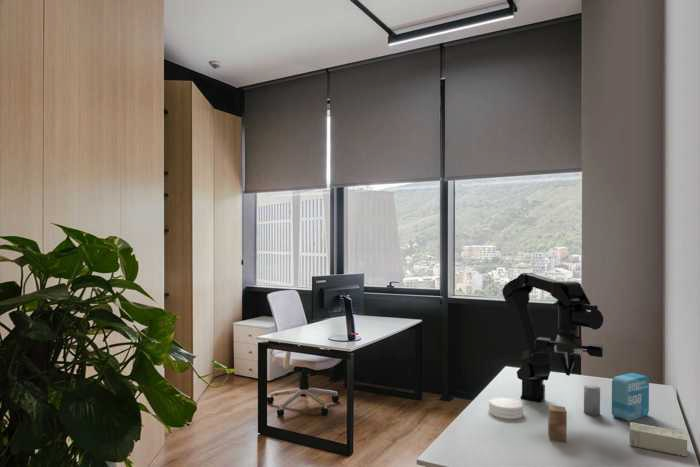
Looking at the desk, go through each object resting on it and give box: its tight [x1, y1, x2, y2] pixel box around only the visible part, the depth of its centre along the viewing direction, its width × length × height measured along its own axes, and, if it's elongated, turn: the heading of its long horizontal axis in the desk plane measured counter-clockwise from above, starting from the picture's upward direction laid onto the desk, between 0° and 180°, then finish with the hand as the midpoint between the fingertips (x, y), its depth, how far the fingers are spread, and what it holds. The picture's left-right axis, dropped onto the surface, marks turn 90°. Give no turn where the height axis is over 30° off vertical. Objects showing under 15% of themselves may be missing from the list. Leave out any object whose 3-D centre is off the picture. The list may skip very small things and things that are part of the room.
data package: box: [611, 372, 650, 422], centre depth 141 cm, size 12×4×12 cm, turn 120°
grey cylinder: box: [583, 384, 601, 417], centre depth 143 cm, size 4×4×8 cm
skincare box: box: [629, 421, 688, 457], centre depth 119 cm, size 6×4×12 cm
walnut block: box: [547, 404, 568, 444], centre depth 124 cm, size 4×4×8 cm
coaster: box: [488, 396, 524, 420], centre depth 142 cm, size 10×10×4 cm
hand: (568, 375), depth 141 cm, fingers closed
